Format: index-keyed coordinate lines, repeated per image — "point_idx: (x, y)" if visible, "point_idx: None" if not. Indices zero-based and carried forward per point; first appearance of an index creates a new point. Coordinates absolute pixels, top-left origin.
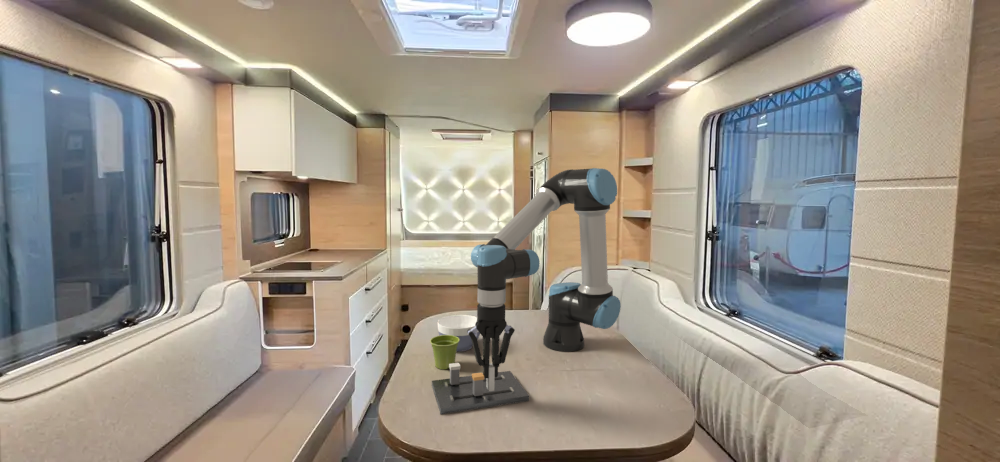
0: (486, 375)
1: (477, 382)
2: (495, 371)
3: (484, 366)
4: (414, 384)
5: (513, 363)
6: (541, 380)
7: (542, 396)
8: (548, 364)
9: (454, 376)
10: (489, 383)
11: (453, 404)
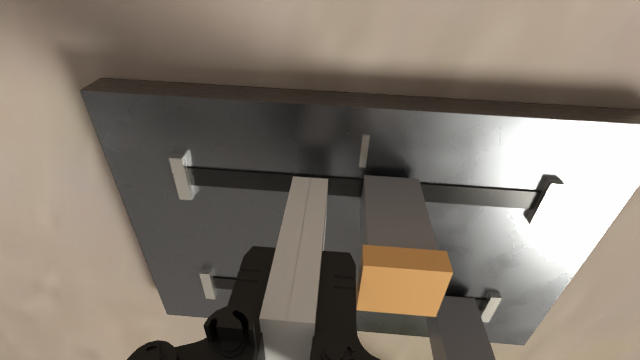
0: (338, 270)
1: (412, 237)
2: (256, 284)
3: (357, 349)
4: (569, 346)
5: None
6: (32, 230)
7: (19, 99)
8: (7, 312)
9: (468, 336)
10: (322, 213)
11: (572, 146)
